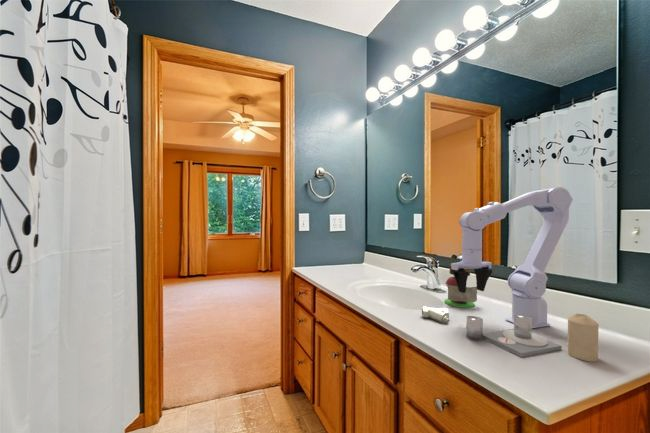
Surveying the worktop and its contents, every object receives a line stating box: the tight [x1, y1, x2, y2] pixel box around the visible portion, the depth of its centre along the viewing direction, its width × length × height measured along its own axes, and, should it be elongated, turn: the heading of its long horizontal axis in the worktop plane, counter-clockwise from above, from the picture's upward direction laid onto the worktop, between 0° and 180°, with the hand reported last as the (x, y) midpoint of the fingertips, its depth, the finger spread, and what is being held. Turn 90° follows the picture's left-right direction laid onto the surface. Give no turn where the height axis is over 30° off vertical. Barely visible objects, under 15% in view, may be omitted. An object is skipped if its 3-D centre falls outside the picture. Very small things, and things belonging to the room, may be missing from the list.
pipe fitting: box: [421, 306, 450, 324], centre depth 93 cm, size 8×4×7 cm
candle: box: [567, 313, 599, 363], centre depth 69 cm, size 6×6×10 cm
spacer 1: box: [465, 315, 484, 342], centre depth 79 cm, size 4×4×6 cm
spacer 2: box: [513, 314, 533, 339], centre depth 77 cm, size 4×4×6 cm
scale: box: [483, 328, 563, 358], centre depth 76 cm, size 14×12×1 cm
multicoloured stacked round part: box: [444, 264, 478, 309], centre depth 111 cm, size 12×13×15 cm
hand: (471, 291), depth 91 cm, fingers open, 7 cm apart
